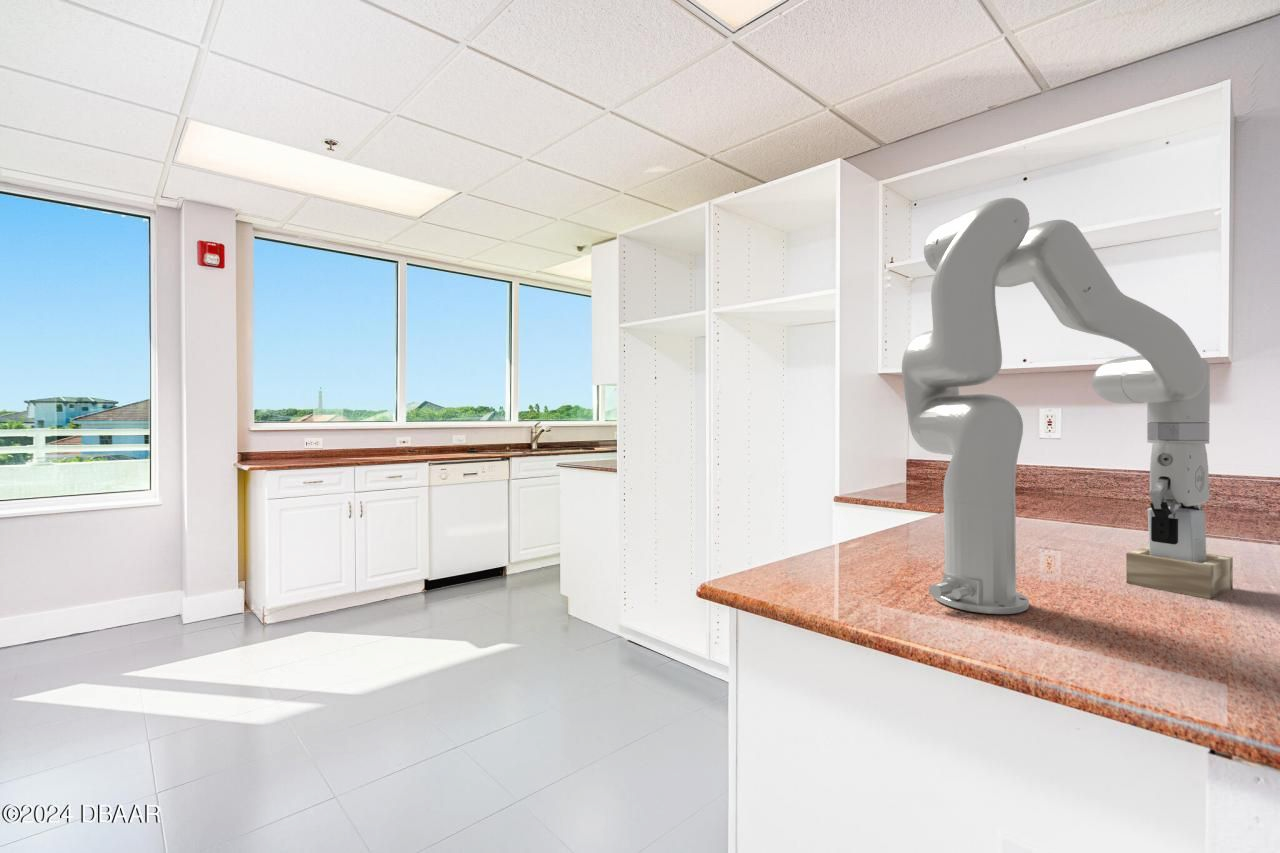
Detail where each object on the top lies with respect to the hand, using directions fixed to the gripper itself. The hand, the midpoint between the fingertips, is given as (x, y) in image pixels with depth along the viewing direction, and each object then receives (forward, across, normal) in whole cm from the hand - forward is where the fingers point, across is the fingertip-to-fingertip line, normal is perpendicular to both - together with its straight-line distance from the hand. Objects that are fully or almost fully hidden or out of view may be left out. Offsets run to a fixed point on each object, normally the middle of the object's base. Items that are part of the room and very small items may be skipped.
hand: (1176, 539), depth 97 cm
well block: (+8, 0, 0) cm, 8 cm away
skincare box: (+7, 0, 0) cm, 7 cm away
